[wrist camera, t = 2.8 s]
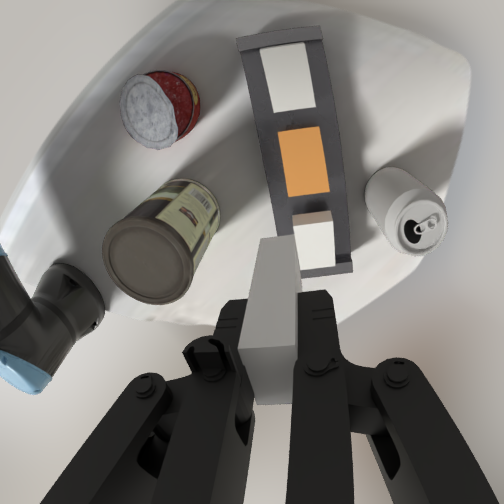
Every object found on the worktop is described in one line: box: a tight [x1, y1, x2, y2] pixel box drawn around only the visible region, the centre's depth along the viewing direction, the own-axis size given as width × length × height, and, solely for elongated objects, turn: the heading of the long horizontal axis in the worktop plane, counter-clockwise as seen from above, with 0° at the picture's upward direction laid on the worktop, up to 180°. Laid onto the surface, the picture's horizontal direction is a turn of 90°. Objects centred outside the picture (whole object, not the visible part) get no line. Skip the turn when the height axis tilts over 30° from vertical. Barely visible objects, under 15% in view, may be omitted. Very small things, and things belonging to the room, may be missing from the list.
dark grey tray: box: [236, 26, 353, 279], centre depth 34 cm, size 30×9×5 cm, turn 12°
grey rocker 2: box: [260, 42, 316, 113], centre depth 27 cm, size 7×4×2 cm, turn 11°
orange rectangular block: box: [278, 126, 330, 197], centre depth 32 cm, size 7×4×2 cm, turn 12°
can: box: [365, 167, 448, 256], centre depth 32 cm, size 8×8×12 cm
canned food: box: [120, 70, 200, 150], centre depth 33 cm, size 11×10×10 cm
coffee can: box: [102, 179, 220, 305], centre depth 36 cm, size 10×10×14 cm
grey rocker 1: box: [292, 211, 335, 270], centre depth 36 cm, size 7×4×2 cm, turn 11°
